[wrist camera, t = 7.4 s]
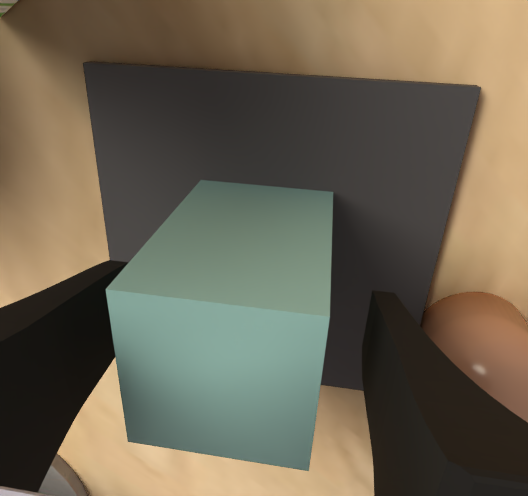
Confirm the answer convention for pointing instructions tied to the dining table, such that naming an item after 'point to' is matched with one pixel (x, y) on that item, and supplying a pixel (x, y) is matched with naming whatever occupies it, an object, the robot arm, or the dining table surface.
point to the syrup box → (6, 5)
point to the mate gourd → (61, 480)
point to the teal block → (227, 324)
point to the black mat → (291, 168)
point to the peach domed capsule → (484, 344)
